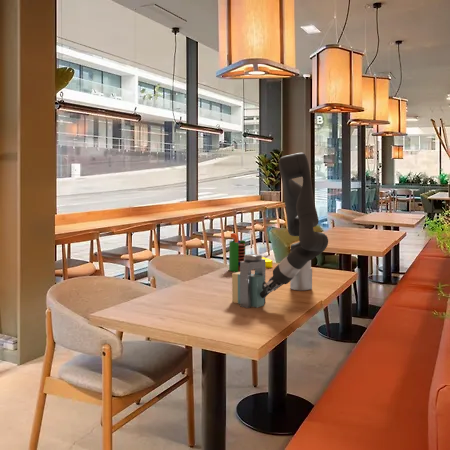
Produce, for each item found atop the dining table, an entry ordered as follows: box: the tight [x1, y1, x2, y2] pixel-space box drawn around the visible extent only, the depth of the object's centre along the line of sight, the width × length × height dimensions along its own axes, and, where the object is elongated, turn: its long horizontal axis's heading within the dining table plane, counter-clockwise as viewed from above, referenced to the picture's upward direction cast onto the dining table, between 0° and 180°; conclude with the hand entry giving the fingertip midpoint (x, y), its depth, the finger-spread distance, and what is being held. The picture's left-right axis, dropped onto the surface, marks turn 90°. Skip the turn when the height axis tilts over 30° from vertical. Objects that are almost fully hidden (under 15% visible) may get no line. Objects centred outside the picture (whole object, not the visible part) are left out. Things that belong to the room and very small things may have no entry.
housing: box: [239, 253, 266, 309], centre depth 202 cm, size 7×11×20 cm, turn 137°
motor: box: [228, 233, 246, 273], centre depth 274 cm, size 10×9×20 cm
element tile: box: [262, 256, 274, 269], centre depth 286 cm, size 15×15×5 cm
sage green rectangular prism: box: [231, 271, 265, 308], centre depth 204 cm, size 13×4×12 cm, turn 48°
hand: (261, 296), depth 199 cm, fingers closed
